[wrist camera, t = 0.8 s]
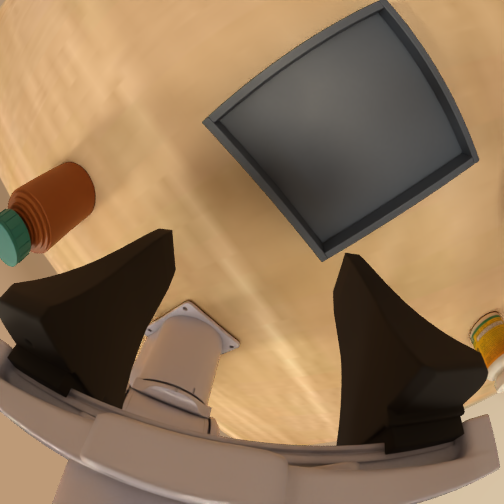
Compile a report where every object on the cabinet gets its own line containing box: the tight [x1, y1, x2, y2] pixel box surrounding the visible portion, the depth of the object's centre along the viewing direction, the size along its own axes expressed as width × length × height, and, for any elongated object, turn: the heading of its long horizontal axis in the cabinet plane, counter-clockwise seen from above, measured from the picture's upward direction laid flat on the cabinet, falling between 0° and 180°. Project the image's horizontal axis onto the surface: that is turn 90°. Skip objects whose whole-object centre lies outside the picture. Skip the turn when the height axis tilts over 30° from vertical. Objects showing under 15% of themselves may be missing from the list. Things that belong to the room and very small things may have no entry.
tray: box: [202, 0, 479, 262], centre depth 16 cm, size 15×13×2 cm
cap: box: [0, 209, 31, 267], centre depth 15 cm, size 4×4×2 cm
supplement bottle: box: [470, 312, 504, 393], centre depth 21 cm, size 5×5×10 cm
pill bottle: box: [8, 162, 95, 253], centre depth 18 cm, size 6×6×10 cm
